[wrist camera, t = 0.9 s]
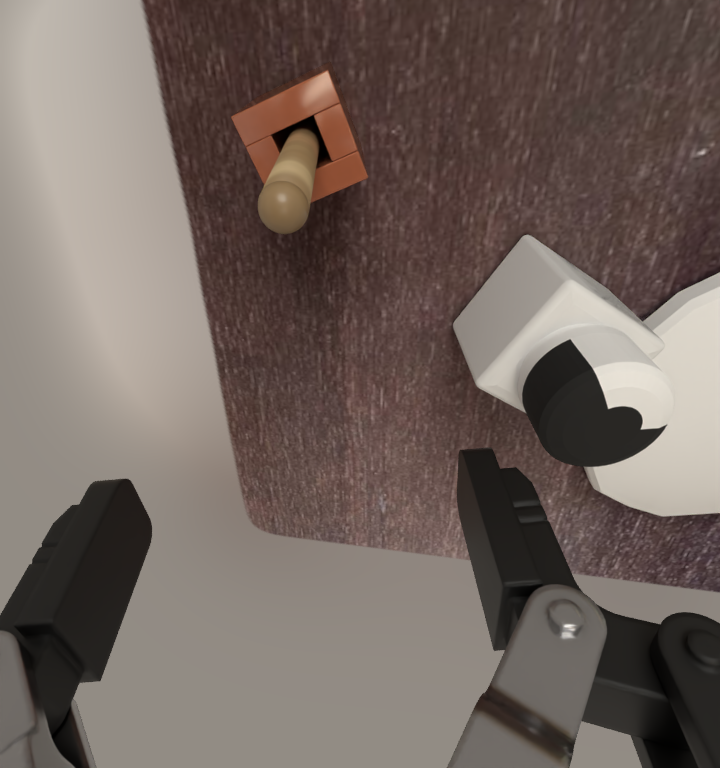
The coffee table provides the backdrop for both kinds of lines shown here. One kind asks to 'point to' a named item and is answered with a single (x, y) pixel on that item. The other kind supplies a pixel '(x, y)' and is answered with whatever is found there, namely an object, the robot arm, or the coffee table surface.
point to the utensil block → (293, 104)
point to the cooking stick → (291, 180)
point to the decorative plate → (679, 415)
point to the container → (566, 358)
